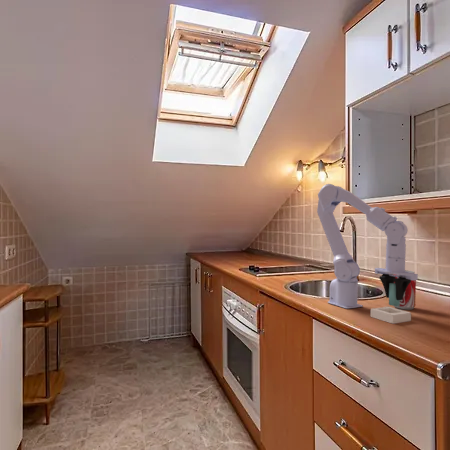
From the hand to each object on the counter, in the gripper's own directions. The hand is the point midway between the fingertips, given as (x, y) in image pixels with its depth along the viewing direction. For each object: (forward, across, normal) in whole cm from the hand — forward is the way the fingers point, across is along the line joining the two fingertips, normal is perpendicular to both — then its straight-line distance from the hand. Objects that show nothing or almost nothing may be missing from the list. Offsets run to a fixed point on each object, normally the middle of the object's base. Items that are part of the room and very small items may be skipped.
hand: (394, 298), depth 111 cm
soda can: (+5, -4, +10) cm, 12 cm away
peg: (+2, 0, 0) cm, 2 cm away
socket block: (+5, +4, -7) cm, 9 cm away
